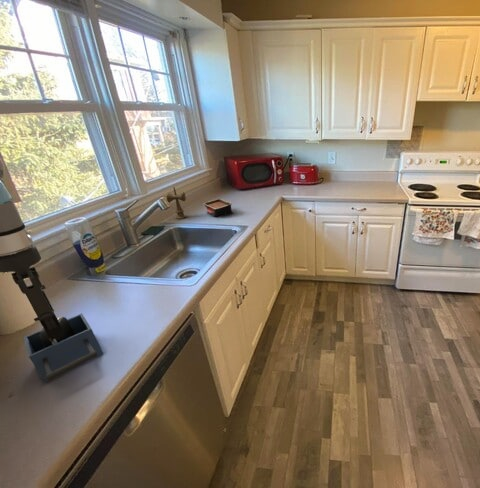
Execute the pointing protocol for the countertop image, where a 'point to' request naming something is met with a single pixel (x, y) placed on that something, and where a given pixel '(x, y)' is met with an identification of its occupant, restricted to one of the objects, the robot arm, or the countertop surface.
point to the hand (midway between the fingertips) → (52, 324)
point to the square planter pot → (218, 207)
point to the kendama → (177, 202)
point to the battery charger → (68, 333)
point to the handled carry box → (63, 350)
